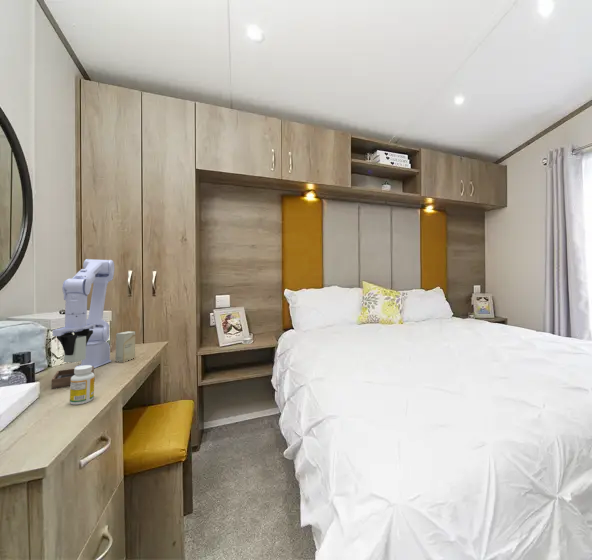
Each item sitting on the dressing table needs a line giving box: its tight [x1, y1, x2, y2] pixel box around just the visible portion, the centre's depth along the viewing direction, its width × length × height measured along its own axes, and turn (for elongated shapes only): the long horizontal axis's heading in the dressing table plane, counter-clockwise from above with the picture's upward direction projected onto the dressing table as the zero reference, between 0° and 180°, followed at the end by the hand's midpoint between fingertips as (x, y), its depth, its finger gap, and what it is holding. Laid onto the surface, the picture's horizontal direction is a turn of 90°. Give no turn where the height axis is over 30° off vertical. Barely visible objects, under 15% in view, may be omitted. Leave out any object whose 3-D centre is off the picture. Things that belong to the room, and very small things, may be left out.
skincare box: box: [115, 330, 136, 363], centre depth 114 cm, size 6×4×12 cm
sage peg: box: [63, 336, 86, 363], centre depth 90 cm, size 4×4×8 cm
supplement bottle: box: [69, 365, 96, 406], centre depth 75 cm, size 5×5×10 cm
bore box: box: [51, 366, 95, 390], centre depth 89 cm, size 10×10×3 cm
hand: (75, 353), depth 90 cm, fingers closed on sage peg, 4 cm apart
